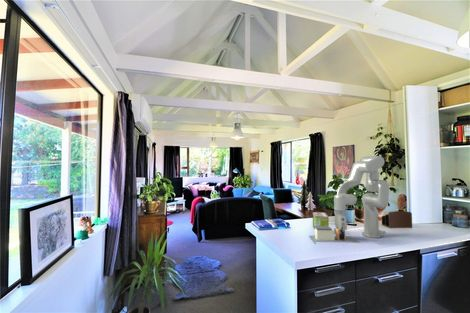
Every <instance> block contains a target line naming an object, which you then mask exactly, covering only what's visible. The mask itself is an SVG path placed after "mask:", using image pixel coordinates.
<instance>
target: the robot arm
mask: <svg viewBox="0 0 470 313" xmlns="http://www.w3.org/2000/svg"><path fill="white" fill-rule="evenodd" d="M384 165H385V159H384V157H383V156H380V155H366V156H362V157H360V160H359V161H355V162H353V164H352V166H351V170H350V171H349V175H348V178H347V180H345V181H344V182H343V183H342V184H341V185H340V186H339V187H338V190H337V193H336V194H334V195H333V209H334V211H333V213H334V226H335V229H336V228H339V229H340V234H339V239H340V240H344V234H345V235H346V230H348V224H347V223H348V222H347V207H346V206H353V205H356V204H357V202H358V198H357V196H356V195H354V194H351V193H347V192H348V191H349V190H350V189H351V188H353V187H355V186H358V185H360V184H361V182H362V179H363V176H364V174H365V190H366V191H368V193H364V194H363V195H362V197H361V203H362V206H363V231H362V232H361V235H362V236H364V237H367V238H374V239H375V238H376V239H380V238H381V237H382V234H383V235H384V234H385V235H386V234H387V232H386V231H385V230H380V229H379V228H380V226H379V211H378V208H379V209H385V208H387V207H388V205H389V199H390V198H389V197H390V184H389V183H388V181H386V180H384V179H380V172H379V169H381V168H383V166H384ZM369 192H372V193H369ZM376 193H377V194H376ZM341 228H342V229H341ZM341 230H342V231H341Z"/></svg>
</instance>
